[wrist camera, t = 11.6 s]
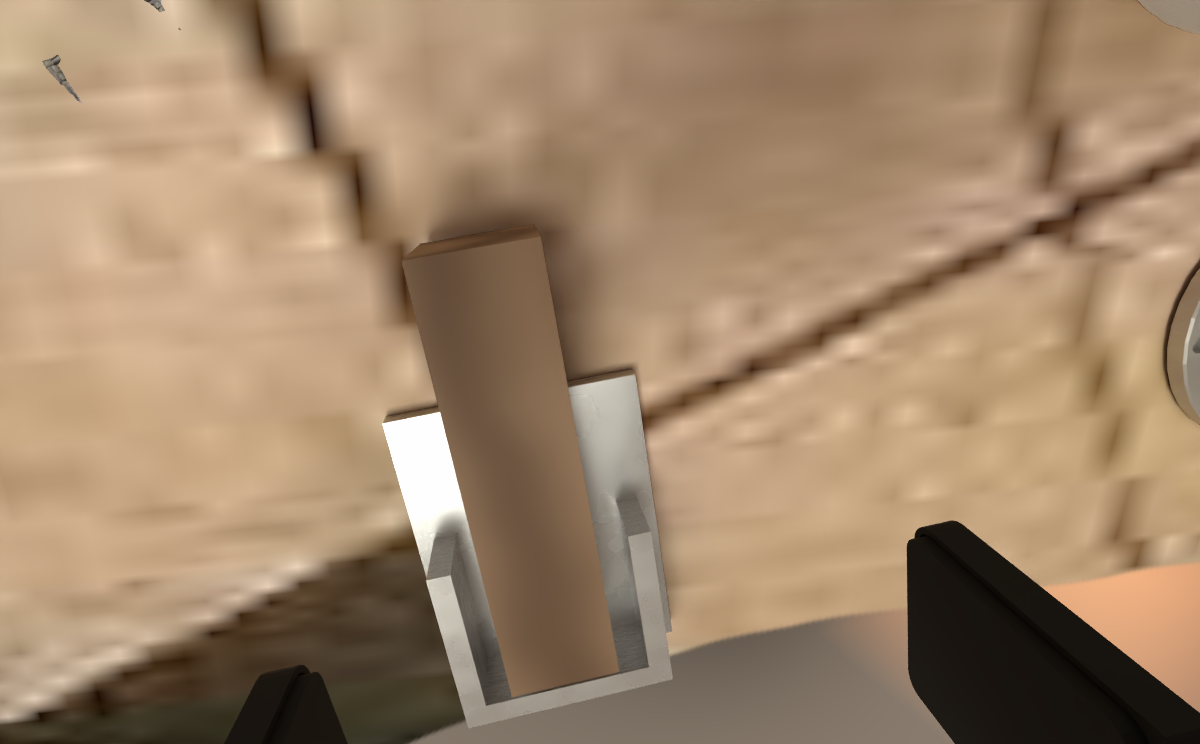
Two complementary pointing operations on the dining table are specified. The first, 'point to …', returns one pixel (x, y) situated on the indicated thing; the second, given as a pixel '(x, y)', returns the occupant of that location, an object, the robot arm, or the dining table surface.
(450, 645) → the cup bracket
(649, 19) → the dining table surface
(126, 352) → the dining table surface
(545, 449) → the walnut rail
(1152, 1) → the roll of tape
